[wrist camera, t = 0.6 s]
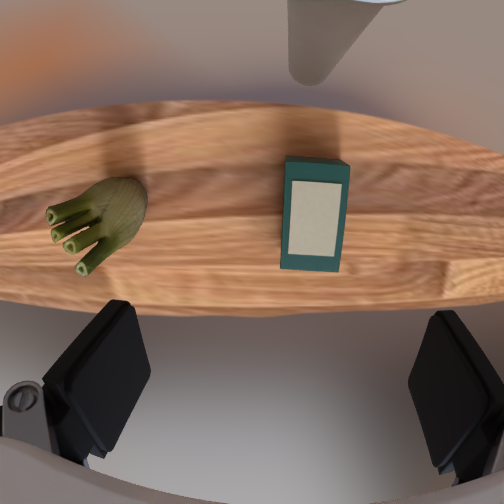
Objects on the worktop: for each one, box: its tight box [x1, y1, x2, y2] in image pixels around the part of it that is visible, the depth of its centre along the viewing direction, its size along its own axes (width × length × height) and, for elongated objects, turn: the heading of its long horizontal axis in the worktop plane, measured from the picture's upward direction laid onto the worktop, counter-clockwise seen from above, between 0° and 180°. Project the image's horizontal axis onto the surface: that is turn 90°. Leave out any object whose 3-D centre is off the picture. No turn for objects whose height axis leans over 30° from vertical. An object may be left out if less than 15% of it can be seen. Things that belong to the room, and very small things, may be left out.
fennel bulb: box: [46, 177, 148, 276], centre depth 24 cm, size 6×5×12 cm
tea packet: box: [280, 156, 350, 272], centre depth 26 cm, size 9×5×5 cm, turn 179°
